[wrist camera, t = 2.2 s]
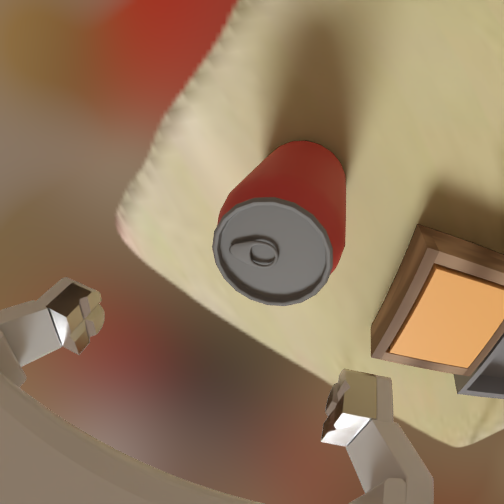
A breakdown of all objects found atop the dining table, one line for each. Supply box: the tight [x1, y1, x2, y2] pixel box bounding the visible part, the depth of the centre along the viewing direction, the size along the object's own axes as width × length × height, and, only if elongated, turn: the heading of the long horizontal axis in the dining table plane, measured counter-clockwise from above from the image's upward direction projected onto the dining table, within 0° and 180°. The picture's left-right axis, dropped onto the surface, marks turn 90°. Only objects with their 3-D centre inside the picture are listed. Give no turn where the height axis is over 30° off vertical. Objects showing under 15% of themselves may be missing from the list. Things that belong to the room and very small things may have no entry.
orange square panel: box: [389, 263, 504, 368], centre depth 22 cm, size 9×9×1 cm
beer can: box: [212, 141, 346, 306], centre depth 19 cm, size 7×7×12 cm
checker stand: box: [371, 224, 504, 376], centre depth 23 cm, size 12×12×4 cm
